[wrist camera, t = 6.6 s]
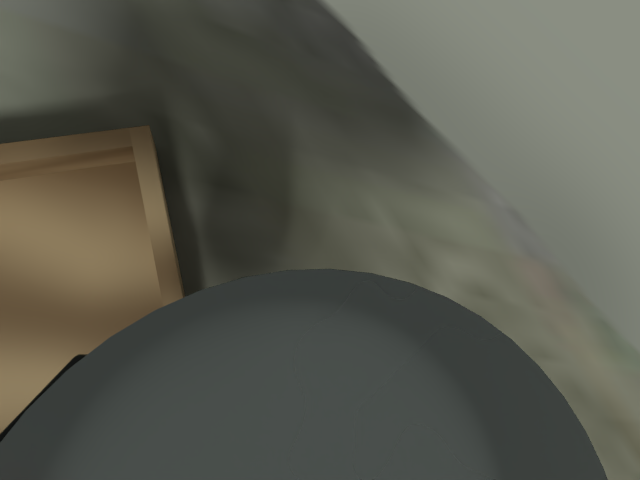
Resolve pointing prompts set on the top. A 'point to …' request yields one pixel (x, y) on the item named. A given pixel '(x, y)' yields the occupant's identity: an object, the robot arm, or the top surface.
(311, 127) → the top surface
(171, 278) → the light wooden tray
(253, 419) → the grey round cylinder
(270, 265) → the top surface
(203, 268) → the top surface
